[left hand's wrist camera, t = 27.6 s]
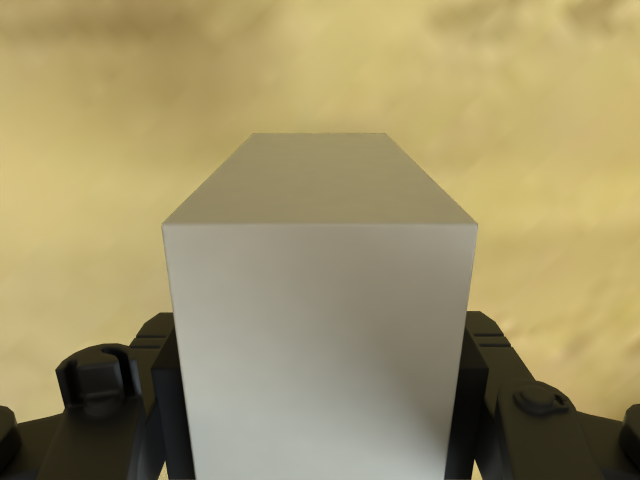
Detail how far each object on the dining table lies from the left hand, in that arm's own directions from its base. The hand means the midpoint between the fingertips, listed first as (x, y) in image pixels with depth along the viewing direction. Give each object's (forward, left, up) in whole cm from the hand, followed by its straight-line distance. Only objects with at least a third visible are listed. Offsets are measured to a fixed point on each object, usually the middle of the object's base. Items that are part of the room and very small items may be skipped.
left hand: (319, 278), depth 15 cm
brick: (0, 0, -3) cm, 3 cm away
